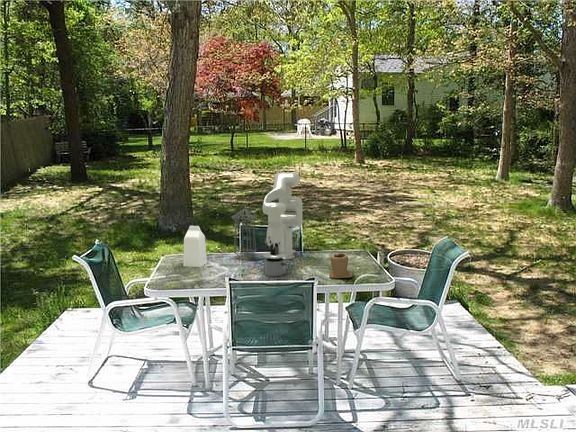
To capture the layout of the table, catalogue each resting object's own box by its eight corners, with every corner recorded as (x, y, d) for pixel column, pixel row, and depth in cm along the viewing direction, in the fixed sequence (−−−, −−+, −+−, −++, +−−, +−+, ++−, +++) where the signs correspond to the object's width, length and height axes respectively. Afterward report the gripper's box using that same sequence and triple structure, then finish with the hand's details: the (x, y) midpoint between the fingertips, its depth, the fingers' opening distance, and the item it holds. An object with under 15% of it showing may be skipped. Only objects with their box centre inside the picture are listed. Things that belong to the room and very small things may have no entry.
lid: (272, 254, 351) (272, 243, 350) (290, 256, 343) (289, 245, 342) (259, 258, 340) (259, 246, 339) (277, 261, 332) (277, 249, 331)
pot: (269, 269, 353) (269, 256, 351) (291, 273, 343) (291, 259, 342) (258, 274, 343) (257, 259, 342) (280, 277, 334) (280, 263, 332)
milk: (183, 266, 364) (182, 227, 360) (190, 262, 375) (189, 224, 371) (200, 267, 361) (199, 227, 357) (207, 263, 372) (206, 224, 368)
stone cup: (330, 280, 327) (330, 255, 325) (328, 275, 339) (328, 251, 337) (355, 280, 327) (355, 255, 325) (353, 275, 339) (353, 251, 337)
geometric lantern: (230, 259, 380) (229, 209, 375) (239, 255, 395) (238, 206, 390) (252, 261, 376) (251, 210, 371) (260, 256, 391) (259, 207, 385)
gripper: (277, 222, 347) (277, 251, 350) (261, 226, 334) (261, 255, 337) (287, 223, 343) (287, 252, 346) (271, 227, 330) (271, 257, 333)
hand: (274, 253), depth 341 cm, fingers closed on lid, 3 cm apart
